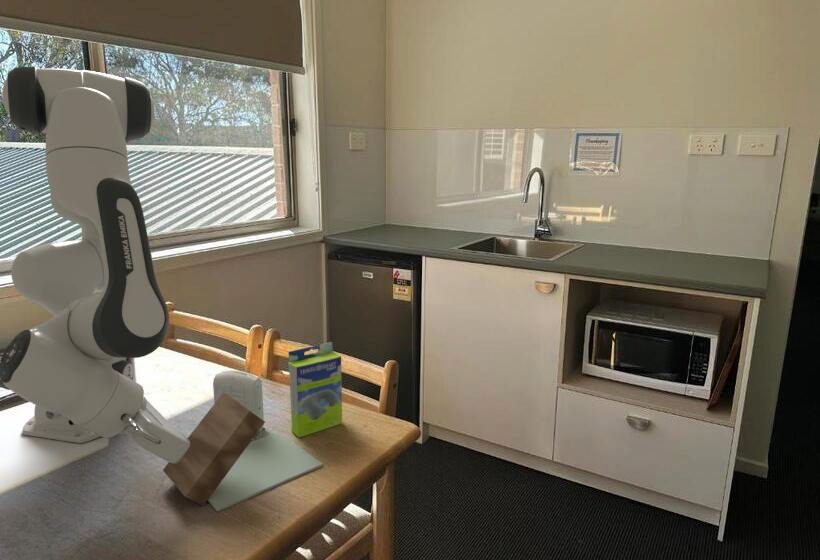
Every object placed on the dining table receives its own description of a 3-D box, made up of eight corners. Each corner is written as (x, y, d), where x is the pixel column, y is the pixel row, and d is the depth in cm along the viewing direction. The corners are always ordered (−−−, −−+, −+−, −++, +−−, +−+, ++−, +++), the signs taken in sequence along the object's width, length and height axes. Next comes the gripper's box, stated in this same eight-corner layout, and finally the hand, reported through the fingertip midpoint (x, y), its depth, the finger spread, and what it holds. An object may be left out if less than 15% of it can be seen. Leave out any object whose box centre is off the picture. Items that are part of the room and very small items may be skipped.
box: (299, 439, 113) (295, 357, 109) (289, 430, 116) (286, 351, 112) (344, 423, 119) (342, 346, 115) (334, 416, 122) (332, 340, 118)
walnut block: (185, 496, 89) (249, 411, 94) (162, 470, 96) (223, 392, 102) (203, 505, 92) (265, 421, 97) (180, 479, 99) (238, 402, 104)
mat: (217, 511, 90) (217, 509, 90) (179, 469, 102) (179, 467, 102) (322, 465, 103) (322, 463, 103) (278, 433, 115) (278, 431, 115)
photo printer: (267, 426, 118) (264, 371, 115) (256, 436, 114) (252, 379, 111) (225, 419, 121) (221, 365, 118) (212, 428, 117) (208, 372, 114)
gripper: (150, 411, 78) (223, 450, 86) (108, 368, 93) (174, 405, 101) (119, 452, 76) (197, 488, 85) (81, 401, 91) (151, 436, 99)
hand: (184, 442), depth 93 cm, fingers closed
